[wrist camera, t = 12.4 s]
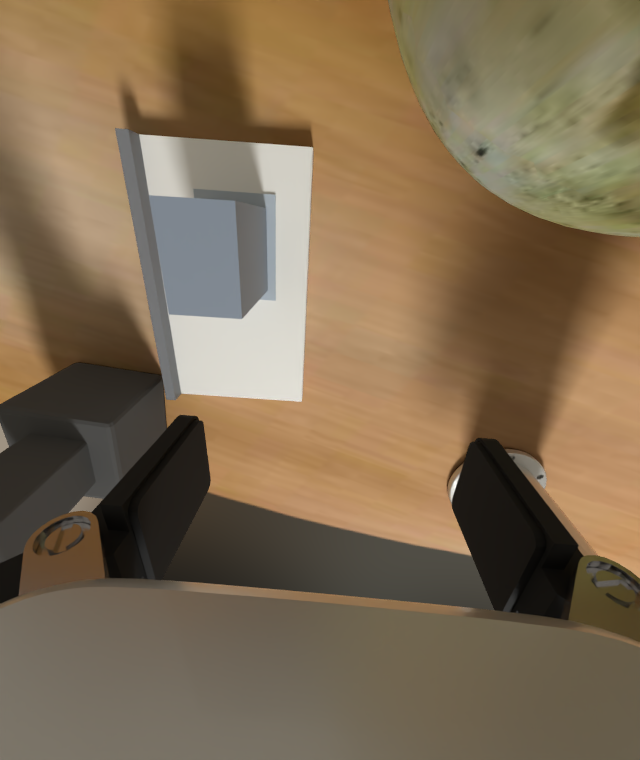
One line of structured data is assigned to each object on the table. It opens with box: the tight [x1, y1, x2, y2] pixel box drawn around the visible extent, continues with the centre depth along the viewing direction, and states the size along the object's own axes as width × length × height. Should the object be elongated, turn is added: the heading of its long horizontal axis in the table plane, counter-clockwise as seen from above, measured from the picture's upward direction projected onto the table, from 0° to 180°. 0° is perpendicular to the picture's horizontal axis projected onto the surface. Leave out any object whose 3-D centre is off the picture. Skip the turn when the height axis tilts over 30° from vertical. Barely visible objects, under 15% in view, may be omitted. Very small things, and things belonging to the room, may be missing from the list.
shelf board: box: [115, 128, 314, 402], centre depth 30 cm, size 24×15×3 cm, turn 176°
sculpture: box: [0, 363, 167, 563], centre depth 25 cm, size 10×10×30 cm
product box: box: [149, 195, 268, 319], centre depth 24 cm, size 5×7×10 cm
